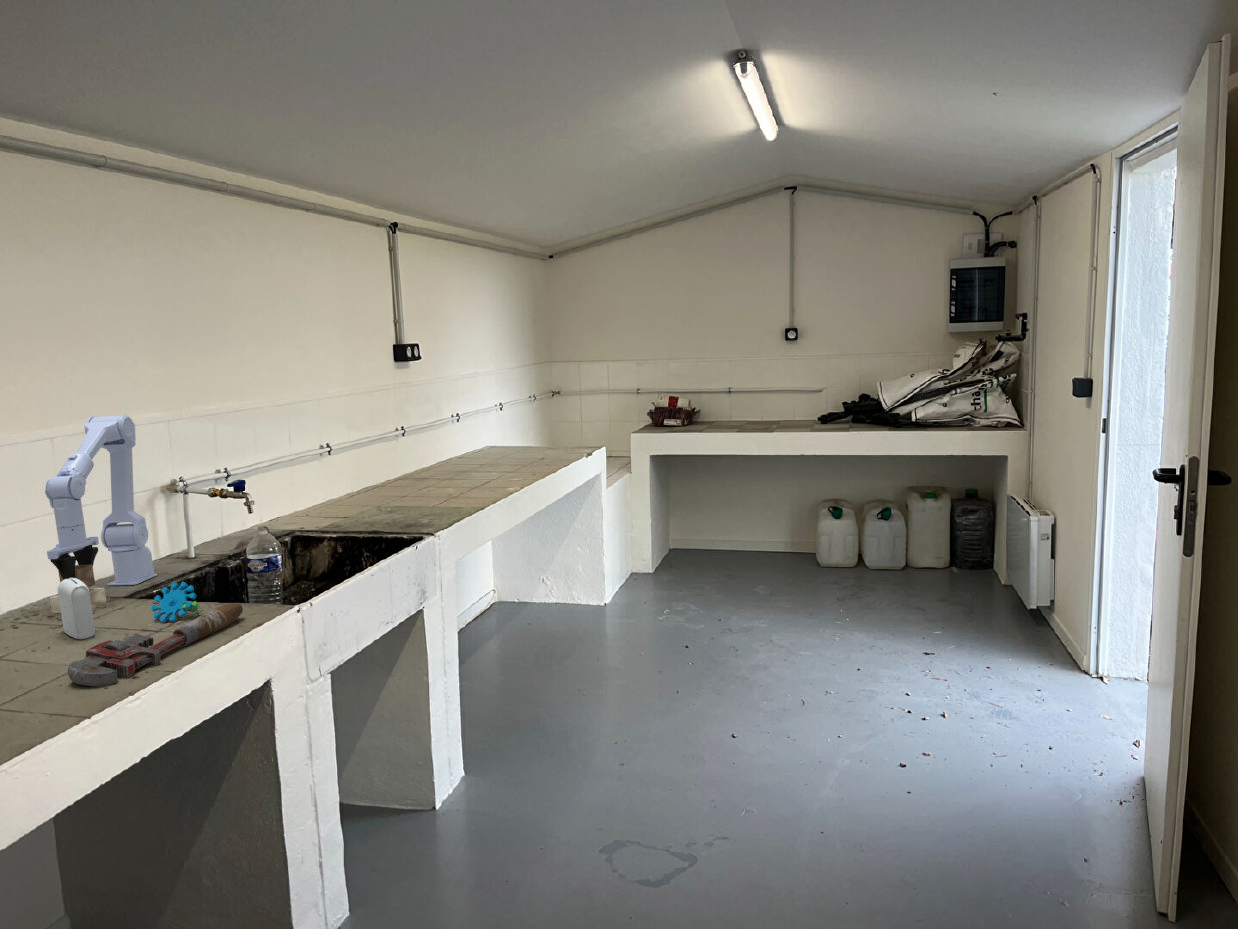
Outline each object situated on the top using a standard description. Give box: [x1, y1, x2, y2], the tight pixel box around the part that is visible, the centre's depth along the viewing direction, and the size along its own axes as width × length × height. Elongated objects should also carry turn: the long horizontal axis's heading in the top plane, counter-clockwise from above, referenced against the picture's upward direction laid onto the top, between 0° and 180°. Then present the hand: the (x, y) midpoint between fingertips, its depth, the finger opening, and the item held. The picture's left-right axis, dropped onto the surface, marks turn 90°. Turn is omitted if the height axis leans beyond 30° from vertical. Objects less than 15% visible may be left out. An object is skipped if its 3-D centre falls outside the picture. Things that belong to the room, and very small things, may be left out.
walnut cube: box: [58, 564, 96, 588], centre depth 215 cm, size 5×5×5 cm
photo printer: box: [57, 578, 96, 640], centre depth 194 cm, size 10×4×12 cm, turn 47°
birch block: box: [49, 587, 107, 614], centre depth 216 cm, size 8×8×4 cm
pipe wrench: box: [67, 602, 244, 687], centre depth 182 cm, size 40×12×5 cm, turn 166°
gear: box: [150, 581, 202, 624], centre depth 204 cm, size 11×6×10 cm
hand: (78, 581), depth 216 cm, fingers closed on walnut cube, 5 cm apart
